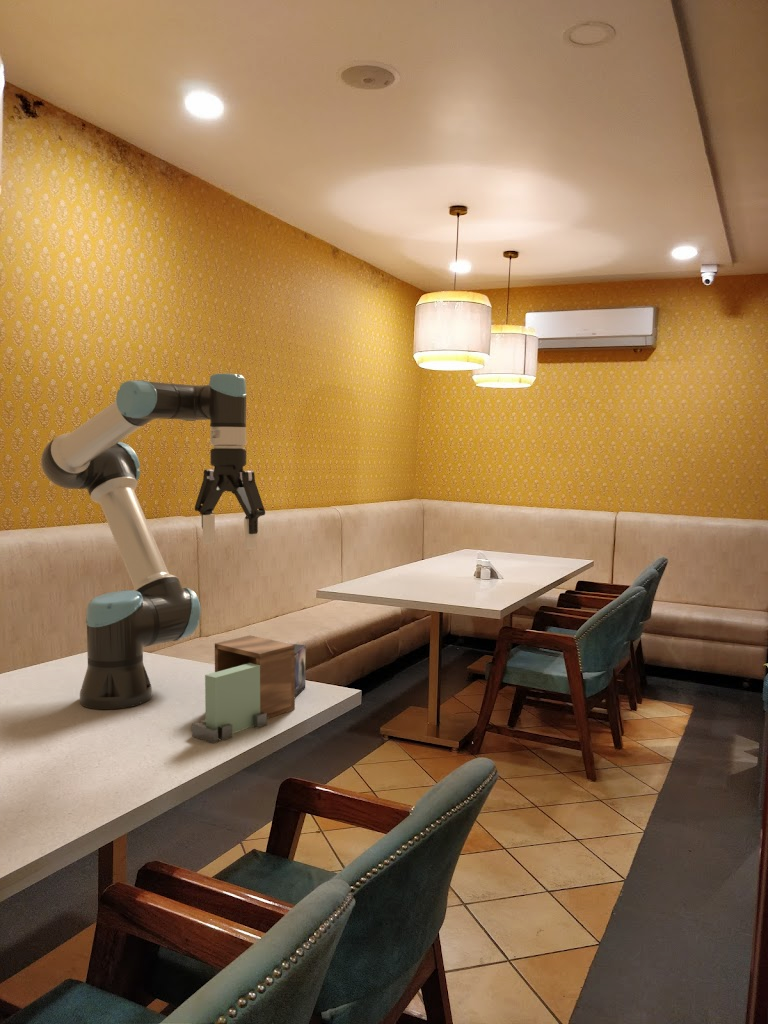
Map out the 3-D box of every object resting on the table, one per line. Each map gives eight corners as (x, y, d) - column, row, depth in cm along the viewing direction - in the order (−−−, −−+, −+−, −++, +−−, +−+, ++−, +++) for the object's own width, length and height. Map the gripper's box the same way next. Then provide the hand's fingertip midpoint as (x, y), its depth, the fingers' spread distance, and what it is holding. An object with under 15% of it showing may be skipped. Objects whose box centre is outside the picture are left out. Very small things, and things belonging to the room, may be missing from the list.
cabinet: (215, 707, 174) (214, 643, 173) (250, 696, 182) (249, 635, 181) (260, 721, 166) (259, 653, 165) (294, 709, 173) (294, 644, 172)
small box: (293, 701, 179) (292, 654, 178) (265, 699, 180) (264, 653, 180) (307, 688, 189) (307, 643, 189) (280, 686, 191) (280, 642, 190)
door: (205, 735, 157) (205, 674, 156) (250, 720, 166) (249, 662, 165) (215, 739, 155) (215, 677, 155) (260, 723, 164) (260, 665, 164)
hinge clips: (192, 736, 157) (192, 723, 157) (245, 718, 167) (245, 706, 167) (213, 743, 153) (213, 730, 153) (266, 725, 163) (266, 712, 163)
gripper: (177, 447, 177) (178, 543, 179) (254, 447, 162) (254, 553, 163) (205, 447, 183) (206, 540, 185) (282, 447, 167) (282, 550, 169)
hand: (229, 546), depth 174 cm, fingers open, 13 cm apart
